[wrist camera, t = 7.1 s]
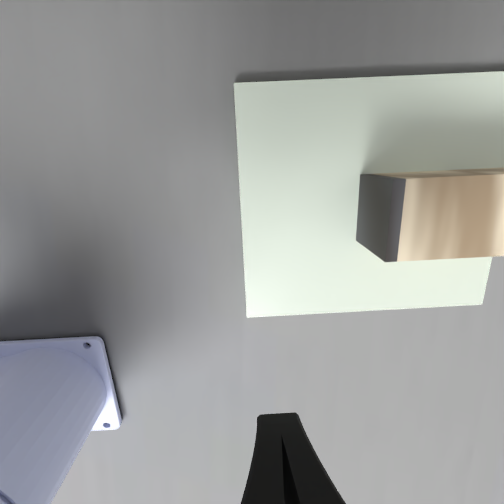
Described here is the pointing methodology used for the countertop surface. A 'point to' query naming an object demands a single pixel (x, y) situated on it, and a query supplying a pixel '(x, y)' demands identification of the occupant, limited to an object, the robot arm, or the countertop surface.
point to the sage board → (353, 185)
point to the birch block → (432, 214)
